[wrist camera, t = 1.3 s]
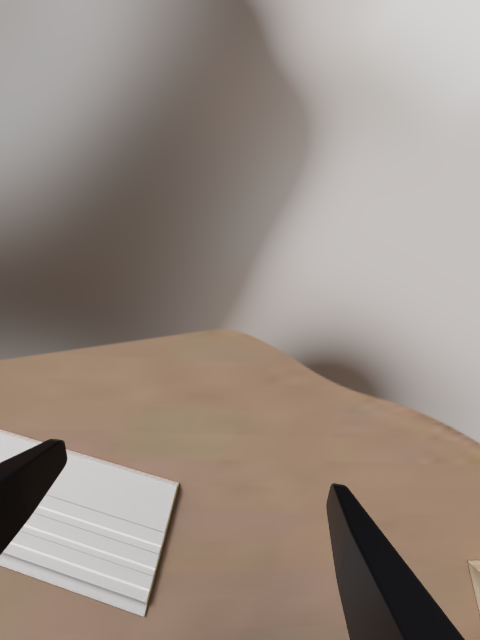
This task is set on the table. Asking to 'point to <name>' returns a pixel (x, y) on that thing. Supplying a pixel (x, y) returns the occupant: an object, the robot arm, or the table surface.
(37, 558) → the baseboard molding
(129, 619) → the table surface
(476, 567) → the board
